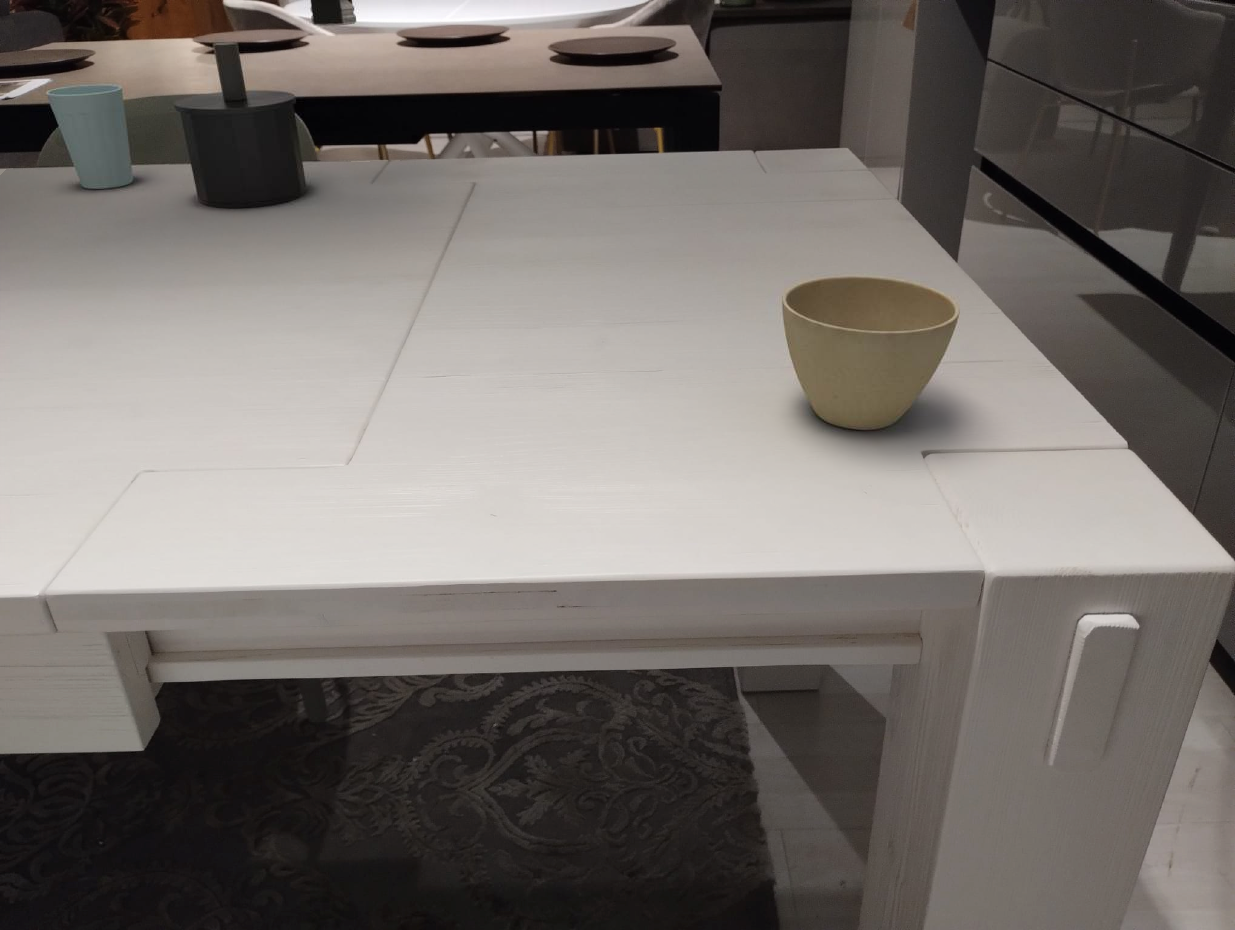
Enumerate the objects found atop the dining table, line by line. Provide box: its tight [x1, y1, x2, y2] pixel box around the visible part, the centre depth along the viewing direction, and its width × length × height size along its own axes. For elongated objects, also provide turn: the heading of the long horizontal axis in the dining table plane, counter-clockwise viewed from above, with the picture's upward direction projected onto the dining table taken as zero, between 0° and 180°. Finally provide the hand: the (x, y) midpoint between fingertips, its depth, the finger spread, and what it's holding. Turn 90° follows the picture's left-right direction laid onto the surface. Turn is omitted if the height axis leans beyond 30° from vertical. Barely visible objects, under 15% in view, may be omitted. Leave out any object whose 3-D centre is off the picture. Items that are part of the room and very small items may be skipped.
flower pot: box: [781, 274, 961, 431], centre depth 60 cm, size 10×10×7 cm
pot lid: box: [173, 41, 297, 115], centre depth 106 cm, size 12×12×7 cm
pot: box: [179, 104, 307, 209], centre depth 110 cm, size 11×11×10 cm
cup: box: [45, 84, 134, 190], centre depth 115 cm, size 8×8×10 cm
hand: (334, 20), depth 103 cm, fingers closed on chess piece, 4 cm apart
